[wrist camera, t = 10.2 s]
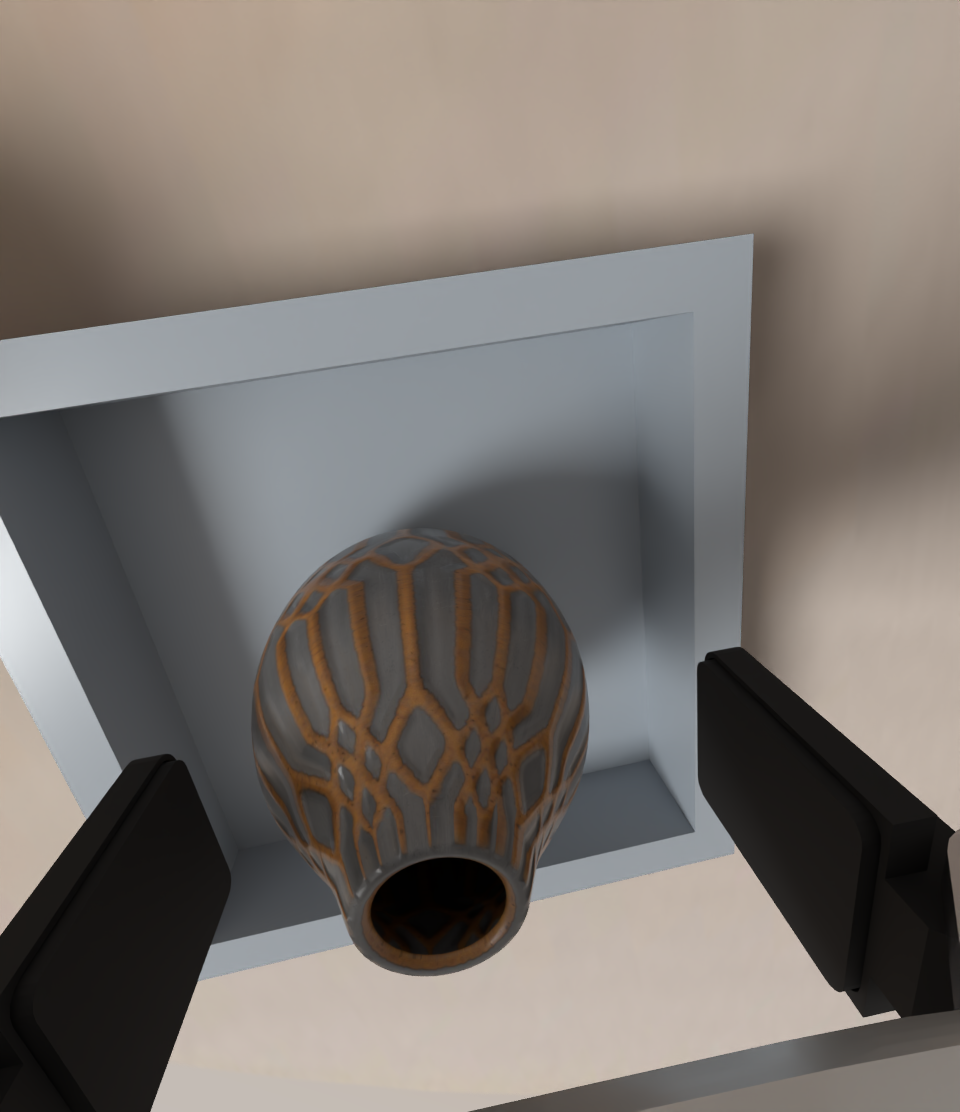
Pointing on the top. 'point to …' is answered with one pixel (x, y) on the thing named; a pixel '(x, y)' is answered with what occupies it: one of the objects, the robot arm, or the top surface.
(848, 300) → the top surface
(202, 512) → the bin
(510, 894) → the vase
